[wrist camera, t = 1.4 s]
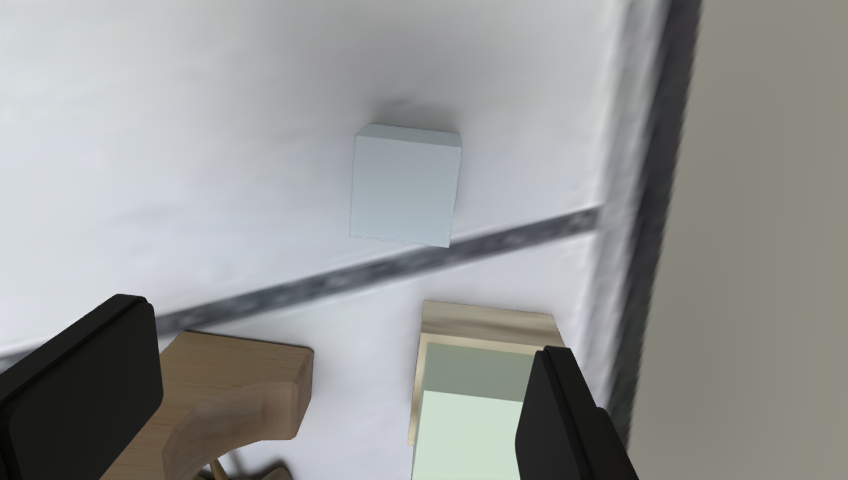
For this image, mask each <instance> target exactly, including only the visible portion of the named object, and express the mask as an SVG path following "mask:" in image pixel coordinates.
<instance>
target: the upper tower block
mask: <svg viewBox="0 0 848 480" xmlns="http://www.w3.org/2000/svg"><path fill="white" fill-rule="evenodd" d="M534 356H535V355H529V354H521V353H513V352H504V351H496V350H488V349H479V348H471V347H463V346H454V345H446V344H438V343H429V342H427V350H426V357H425V365H424V372H423V380H422V387H421V394H420V402H419V409H418V417H417V424H416V432H415V439H414V449H413V461H412V473H411V480H520V475H519V470H518V464H517V459H516V453H515V435H516V431H517V427H518V422H519V418H520V414H521V410H522V406H523V402H524V398H525V393H526V389H527V385H528V381H529V377H530V373H531V368H532V364H533V360H534Z"/></svg>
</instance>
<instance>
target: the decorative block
mask: <svg viewBox="0 0 848 480" xmlns="http://www.w3.org/2000/svg"><path fill="white" fill-rule="evenodd" d="M159 357H160V365H161V374H162V382H163V391H164V395H163V400H162V403H161V405H160V407H159V408H158V410H157V411H156V412H155V413H154V415H153V416H152V417H151V418H150V419H149V421H148V422H147V423H146V424H145V425H144V427H143V428H142V429H141V430H140V431H139V433H138V434H137V435H136V436H135V437H134V439H133V440H132V441H131V442H130V443H129V445H128V446H127V447H126V448H125V449H124V451H123V452H122V453H121V454H120V455H119V457H118V458H117V459H116V460H115V461H114V463H113V464H112V465H111V466H110V467H109V469H108V470H107V471H106V472H105V473H104V475H103V476H102V477H101V478H100V479H99V480H192V479H193V478H194V477H195V476H196V474H197V473H198V472H199V471H200V470H201V468H202V467H203V466H205V465H207V464H209V463H210V462H212V461H214V460H215V459H217V458H219V457H221V456H222V455H224V454H226V453H227V452H229V451H231V450H233V449H236V448H239V447H242V446H245V445H248V444H251V443H254V442H258V441H261V440H291V439H293V438H294V437H296V435H297V432H298V430H299V427H300V425H301V422H302V420H303V417H304V415H305V412H306V410H307V407H308V405H309V402H310V400H311V384H312V366H313V352H312V351H311V350H310V349H306V348H299V347H292V346H285V345H278V344H271V343H265V342H258V341H251V340H244V339H236V338H229V337H222V336H215V335H207V334H200V333H193V332H186V331H183V332H182V333H181V334H179V335H178V336H177V338H176V339H175V340H174V341H173V342H172V343H171V344H170V345H169V346H168V347H167V348H166V349H165V350H164V351H163V352H162V353H161V354H160V355H159Z"/></svg>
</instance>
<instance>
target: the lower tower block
mask: <svg viewBox="0 0 848 480" xmlns="http://www.w3.org/2000/svg"><path fill="white" fill-rule="evenodd" d="M427 342H429V343H438V344H446V345H454V346H463V347H471V348H479V349H488V350H496V351H504V352H513V353H521V354H529V355H535V353H536V351H537V350H541V351H543V349H544V347H545V346H546V345H550V346H558V347H565V344H564V342H563V340H562V337H561V335H560V333H559V331H558V328H557V326H556V324H555V321H554V319H553V317H552V315H549V314H540V313H532V312H523V311H514V310H505V309H497V308H488V307H479V306H471V305H462V304H453V303H444V302H436V301H427V300H424V304H423V313H422V321H421V329H420V338H419V346H418V354H417V363H416V371H415V380H414V388H413V396H412V405H411V415H410V425H409V435H408V445H411V446H414V439H415V432H416V424H417V417H418V409H419V402H420V394H421V387H422V380H423V372H424V365H425V357H426V350H427Z"/></svg>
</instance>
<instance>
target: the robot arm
mask: <svg viewBox="0 0 848 480" xmlns="http://www.w3.org/2000/svg"><path fill="white" fill-rule="evenodd" d="M163 395H164V391H163V382H162V374H161V365H160V357H159V348H158V340H157V332H156V323H155V315H154V308H153V306H152V304H150V303H148V301H147V300H146V298H144V297H143V296H135V295H126V294H116V295H114V296H112V297H111V298H109V299H108V300H107V301H105V302H104V303H102V304H101V305H99V306H98V307H97V308H95V309H94V310H92V311H91V312H89V313H88V314H86V315H85V316H84V317H82V318H81V319H79V320H78V321H76V322H75V323H74V324H72V325H71V326H69V327H68V328H66V329H65V330H64V331H62V332H61V333H59V334H58V335H56V336H55V337H53V338H52V339H51V340H49V341H48V342H46V343H45V344H43V345H42V346H41V347H39V348H38V349H36V350H35V351H33V352H32V353H30V354H29V355H28V356H26V357H25V358H23V359H22V360H20V361H19V362H18V363H16V364H15V365H13V366H12V367H10V368H9V369H7V370H6V371H5V372H3V373H2V374H0V480H99V479H100V478H101V477H102V476H103V475H104V473H105V472H106V471H107V470H108V469H109V467H110V466H111V465H112V464H113V463H114V461H115V460H116V459H117V458H118V457H119V455H120V454H121V453H122V452H123V451H124V449H125V448H126V447H127V446H128V445H129V443H130V442H131V441H132V440H133V439H134V437H135V436H136V435H137V434H138V433H139V431H140V430H141V429H142V428H143V427H144V425H145V424H146V423H147V422H148V421H149V419H150V418H151V417H152V416H153V415H154V413H155V412H156V411H157V410H158V408H159V407H160V405H161V403H162V400H163ZM515 453H516V459H517V464H518V470H519V475H520V480H639V478H638V476H637V474H636V472H635V470H634V468H633V466H632V464H631V461H630V459H629V457H628V455H627V453H626V451H625V449H624V447H623V444H622V442H621V440H620V438H619V436H618V434H617V432H616V430H615V427H614V425H613V423H612V421H611V419H610V417H609V415H608V413H607V412H606V410H605V409H603V408H601V407H597V406H596V404H595V402H594V400H593V397H592V395H591V393H590V391H589V388H588V386H587V384H586V382H585V380H584V377H583V375H582V373H581V371H580V368H579V366H578V364H577V362H576V359H575V357H574V355H573V353H572V351H571V349H570V348H566V347H558V346H550V345H546V346H545V347H544V349H543V351H541V350H537V351H536V353H535V356H534V360H533V364H532V368H531V373H530V377H529V381H528V385H527V389H526V393H525V398H524V402H523V406H522V410H521V414H520V418H519V422H518V427H517V431H516V435H515Z"/></svg>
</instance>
